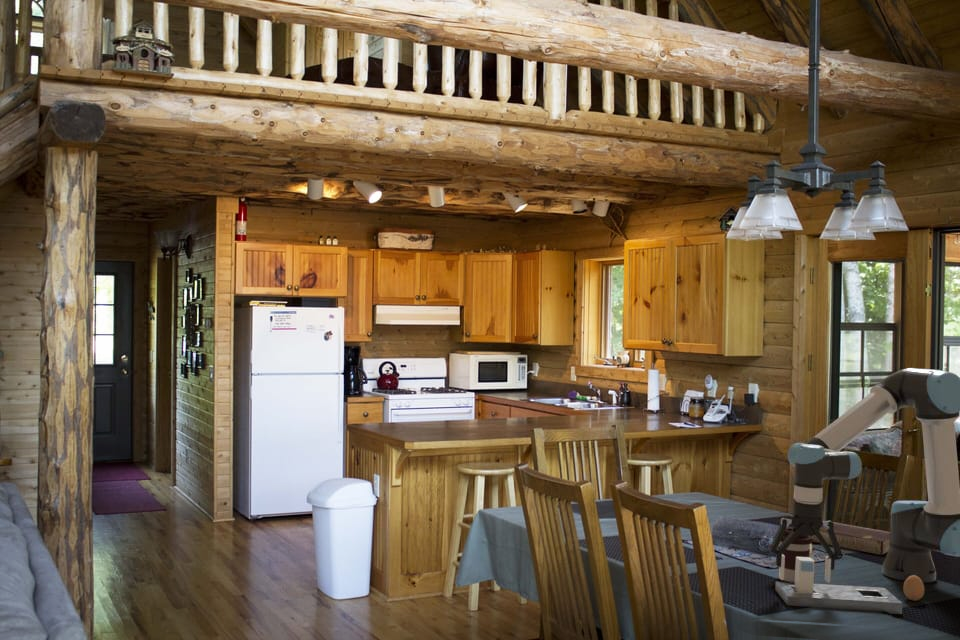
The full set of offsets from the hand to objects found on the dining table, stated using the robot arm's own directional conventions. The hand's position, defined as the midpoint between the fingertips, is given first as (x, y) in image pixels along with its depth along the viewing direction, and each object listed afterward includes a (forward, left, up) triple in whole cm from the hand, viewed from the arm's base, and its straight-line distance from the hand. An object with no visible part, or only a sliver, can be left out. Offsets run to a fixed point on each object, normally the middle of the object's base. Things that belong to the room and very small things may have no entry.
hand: (804, 579), depth 269 cm
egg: (-32, -7, -6) cm, 33 cm away
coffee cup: (-2, -20, -6) cm, 21 cm away
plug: (0, 0, -5) cm, 5 cm away
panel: (-9, 0, -6) cm, 11 cm away
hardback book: (-35, -75, -6) cm, 83 cm away
